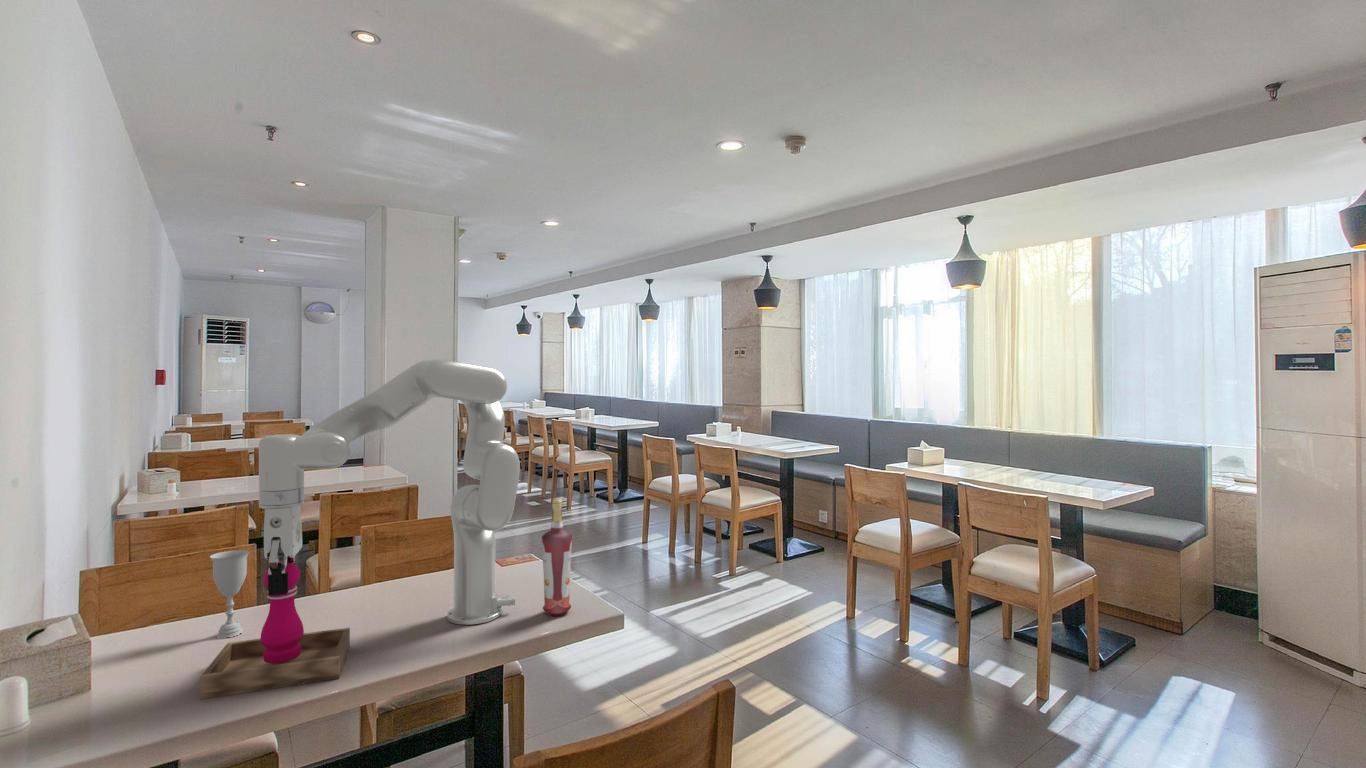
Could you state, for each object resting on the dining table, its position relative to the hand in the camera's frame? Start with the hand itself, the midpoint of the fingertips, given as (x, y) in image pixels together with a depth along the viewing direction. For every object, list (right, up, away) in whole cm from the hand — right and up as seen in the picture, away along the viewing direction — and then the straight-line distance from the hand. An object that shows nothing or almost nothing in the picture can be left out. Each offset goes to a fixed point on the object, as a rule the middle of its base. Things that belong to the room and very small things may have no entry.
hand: (282, 588), depth 125 cm
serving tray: (0, -16, 0) cm, 16 cm away
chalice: (-23, -16, +18) cm, 33 cm away
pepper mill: (0, -14, 0) cm, 14 cm away
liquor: (+48, -16, +31) cm, 59 cm away
